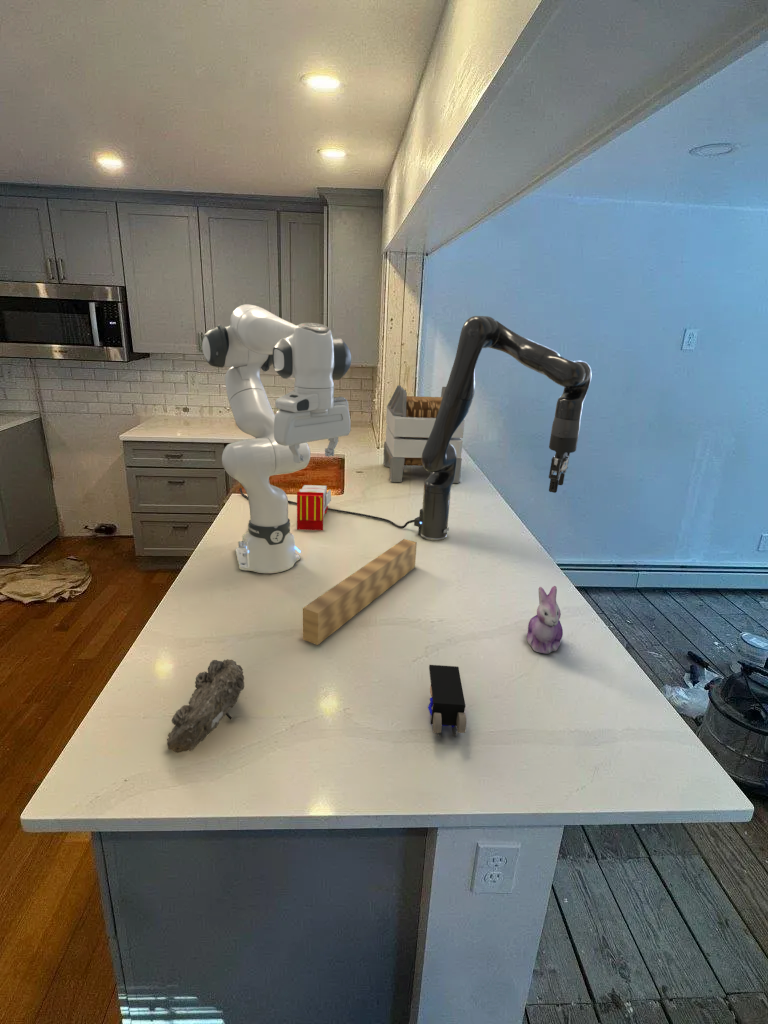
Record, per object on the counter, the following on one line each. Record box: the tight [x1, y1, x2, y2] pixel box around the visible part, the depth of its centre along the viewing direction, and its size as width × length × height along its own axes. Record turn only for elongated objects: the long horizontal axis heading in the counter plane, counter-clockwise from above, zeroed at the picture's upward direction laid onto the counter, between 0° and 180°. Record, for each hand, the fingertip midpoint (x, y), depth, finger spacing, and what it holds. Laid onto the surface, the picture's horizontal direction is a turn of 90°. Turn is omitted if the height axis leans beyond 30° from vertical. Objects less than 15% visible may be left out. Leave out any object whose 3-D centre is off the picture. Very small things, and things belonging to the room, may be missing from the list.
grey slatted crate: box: [383, 384, 465, 484], centre depth 268 cm, size 34×33×41 cm
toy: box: [296, 484, 332, 531], centre depth 210 cm, size 12×13×30 cm
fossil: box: [166, 658, 245, 754], centre depth 106 cm, size 22×10×15 cm
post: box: [302, 538, 418, 646], centre depth 153 cm, size 51×4×8 cm, turn 151°
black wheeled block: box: [427, 664, 467, 738], centre depth 109 cm, size 7×8×15 cm
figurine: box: [526, 585, 564, 655], centre depth 134 cm, size 9×10×15 cm
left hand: (314, 459), depth 132 cm, fingers open, 8 cm apart
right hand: (555, 488), depth 166 cm, fingers open, 8 cm apart
